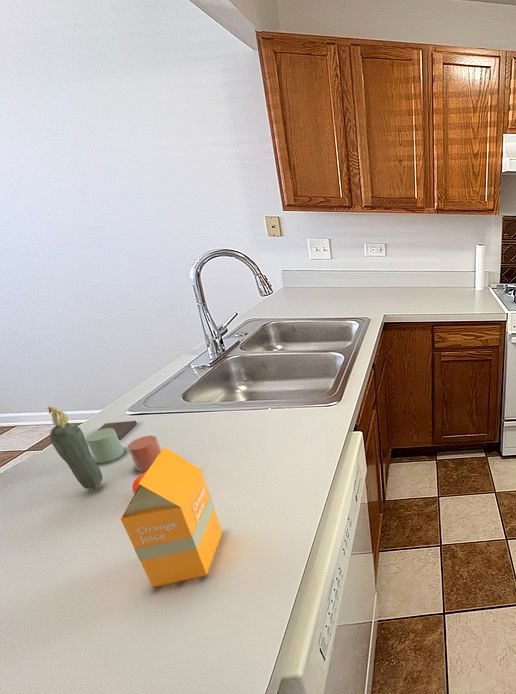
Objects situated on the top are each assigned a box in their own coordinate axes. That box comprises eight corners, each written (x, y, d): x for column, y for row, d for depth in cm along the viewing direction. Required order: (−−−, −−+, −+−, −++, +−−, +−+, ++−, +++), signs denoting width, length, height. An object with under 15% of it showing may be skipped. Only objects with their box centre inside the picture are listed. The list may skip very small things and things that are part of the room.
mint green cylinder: (89, 464, 89) (79, 442, 87) (104, 450, 93) (95, 429, 91) (115, 461, 90) (105, 439, 87) (128, 448, 94) (119, 426, 92)
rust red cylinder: (131, 473, 86) (122, 450, 84) (144, 458, 91) (136, 436, 88) (157, 470, 87) (148, 448, 85) (169, 455, 92) (161, 434, 89)
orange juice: (151, 588, 62) (104, 489, 54) (174, 542, 70) (136, 450, 62) (208, 575, 64) (170, 478, 56) (224, 532, 72) (193, 441, 64)
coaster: (87, 443, 96) (85, 439, 96) (106, 426, 102) (105, 423, 102) (120, 439, 97) (118, 436, 97) (137, 423, 104) (135, 420, 103)
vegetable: (111, 488, 82) (72, 405, 74) (83, 501, 79) (40, 416, 71) (102, 480, 84) (64, 399, 76) (76, 493, 81) (32, 409, 73)
